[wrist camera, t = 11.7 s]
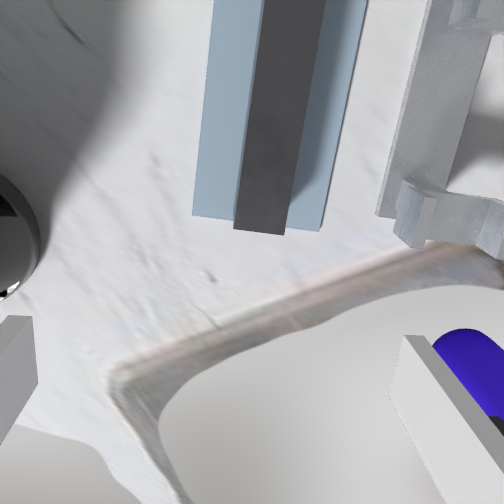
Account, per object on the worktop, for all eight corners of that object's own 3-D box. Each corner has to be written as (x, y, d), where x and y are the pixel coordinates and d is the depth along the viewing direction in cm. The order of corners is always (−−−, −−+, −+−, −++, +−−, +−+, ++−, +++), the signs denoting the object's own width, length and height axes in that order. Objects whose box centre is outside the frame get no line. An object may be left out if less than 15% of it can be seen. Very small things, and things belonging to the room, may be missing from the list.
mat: (192, 213, 45) (191, 215, 44) (224, -93, 36) (224, -96, 36) (317, 230, 46) (318, 231, 46) (378, -64, 37) (380, -66, 37)
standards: (365, 212, 46) (408, 253, 34) (421, -21, 39) (498, -65, 27) (439, 222, 46) (505, 266, 35) (508, -5, 39) (618, -41, 28)
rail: (277, 216, 45) (283, 235, 39) (233, 210, 44) (233, 228, 39) (325, -62, 37) (342, -89, 31) (271, -72, 36) (278, -101, 31)
